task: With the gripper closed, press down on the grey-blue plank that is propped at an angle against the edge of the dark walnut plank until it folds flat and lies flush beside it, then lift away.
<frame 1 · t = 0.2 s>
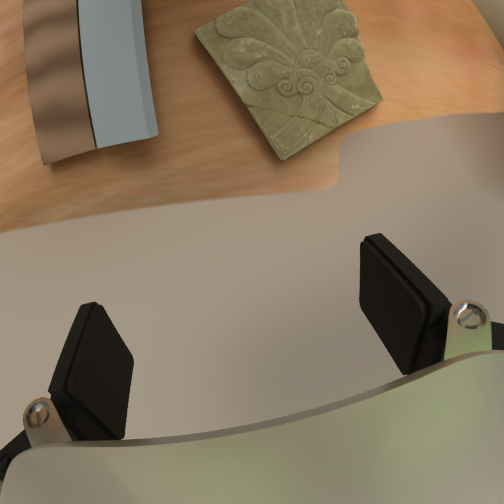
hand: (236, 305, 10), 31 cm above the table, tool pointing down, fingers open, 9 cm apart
grey-blue plank: (110, 38, 25), point 3 cm above the table, hinge at 25.0°
walnut plank: (59, 63, 27), on the table
decorative tile: (297, 61, 33), on the table
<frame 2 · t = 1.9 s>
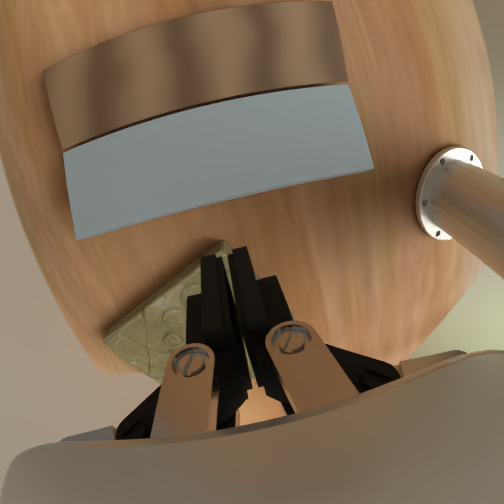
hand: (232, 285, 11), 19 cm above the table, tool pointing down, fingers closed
grey-blue plank: (212, 153, 24), point 3 cm above the table, hinge at 25.0°
walnut plank: (191, 62, 23), on the table
decorative tile: (208, 331, 38), on the table
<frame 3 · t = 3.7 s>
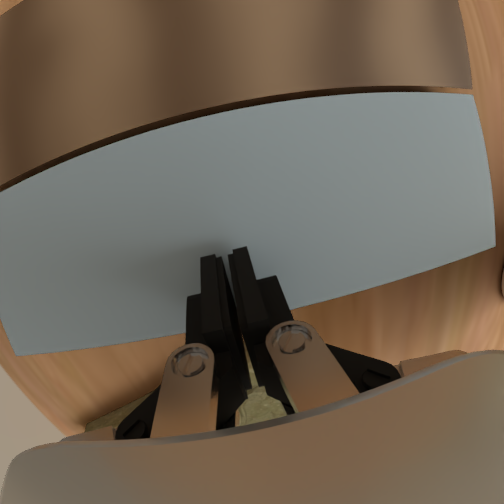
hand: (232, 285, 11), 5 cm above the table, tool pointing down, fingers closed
grey-blue plank: (234, 216, 12), point 3 cm above the table, hinge at 18.4°, touching gripper
walnut plank: (192, 25, 10), on the table
decorative tile: (221, 428, 26), on the table
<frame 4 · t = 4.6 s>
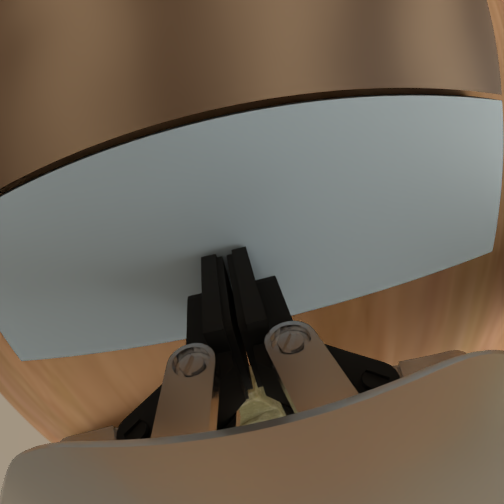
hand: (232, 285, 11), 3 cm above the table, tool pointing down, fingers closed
grey-blue plank: (236, 224, 11), point 1 cm above the table, hinge at 1.9°, touching gripper
walnut plank: (189, 13, 9), on the table
decorative tile: (223, 447, 24), on the table
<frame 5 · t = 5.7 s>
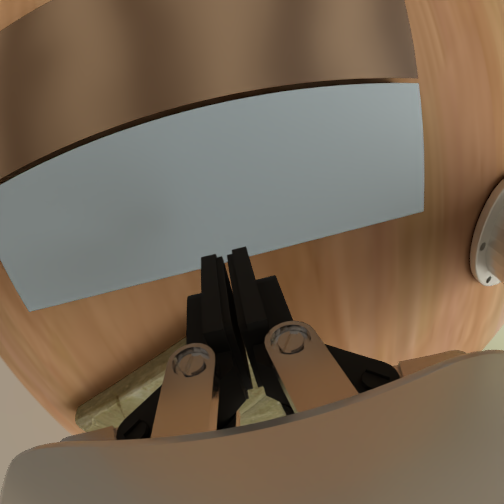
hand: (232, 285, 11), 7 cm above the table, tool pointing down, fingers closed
grey-blue plank: (198, 188, 15), point 1 cm above the table, hinge at 1.6°
walnut plank: (164, 37, 12), on the table
decorative tile: (204, 408, 28), on the table
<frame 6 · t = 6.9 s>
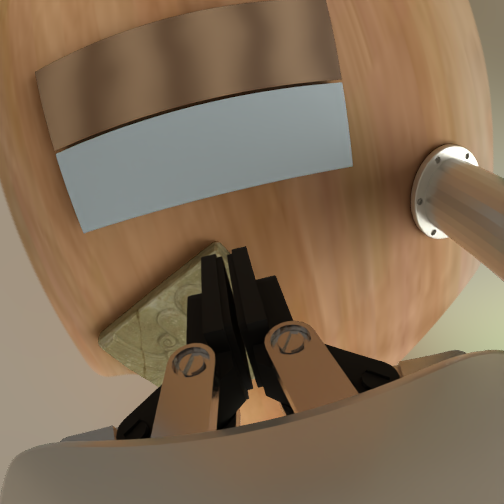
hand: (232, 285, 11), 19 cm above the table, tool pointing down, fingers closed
grey-blue plank: (204, 150, 25), point 1 cm above the table, hinge at 1.6°
walnut plank: (184, 61, 22), on the table
decorative tile: (203, 332, 38), on the table
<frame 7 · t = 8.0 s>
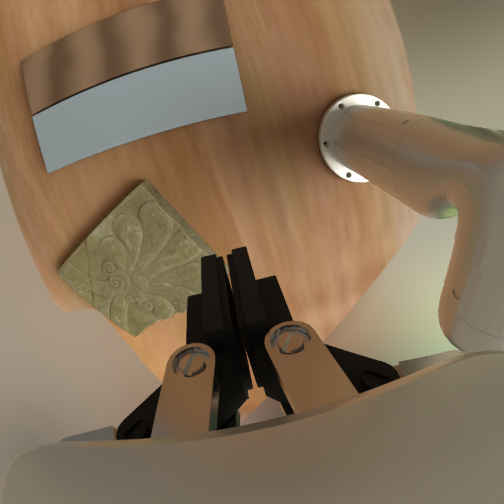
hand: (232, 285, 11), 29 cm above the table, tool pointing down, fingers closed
grey-blue plank: (131, 107, 31), point 1 cm above the table, hinge at 1.6°
walnut plank: (120, 47, 28), on the table
decorative tile: (142, 266, 44), on the table
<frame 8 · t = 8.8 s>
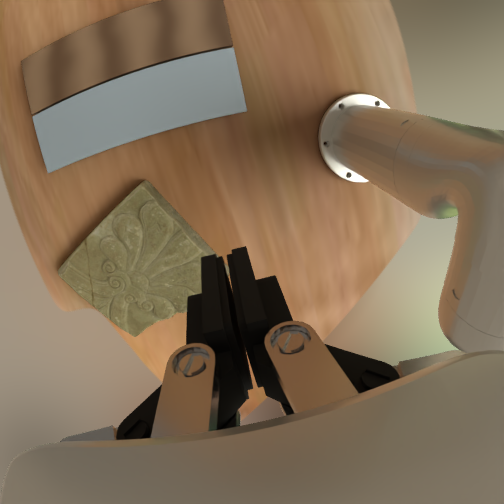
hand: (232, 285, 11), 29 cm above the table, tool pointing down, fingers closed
grey-blue plank: (131, 107, 31), point 1 cm above the table, hinge at 1.6°
walnut plank: (120, 47, 28), on the table
decorative tile: (142, 266, 44), on the table
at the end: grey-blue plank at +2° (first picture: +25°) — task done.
